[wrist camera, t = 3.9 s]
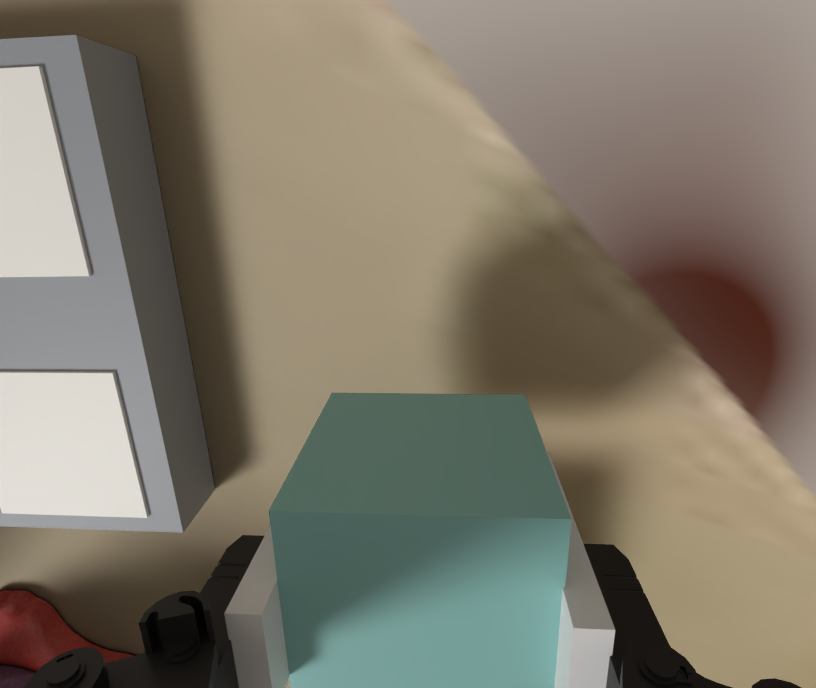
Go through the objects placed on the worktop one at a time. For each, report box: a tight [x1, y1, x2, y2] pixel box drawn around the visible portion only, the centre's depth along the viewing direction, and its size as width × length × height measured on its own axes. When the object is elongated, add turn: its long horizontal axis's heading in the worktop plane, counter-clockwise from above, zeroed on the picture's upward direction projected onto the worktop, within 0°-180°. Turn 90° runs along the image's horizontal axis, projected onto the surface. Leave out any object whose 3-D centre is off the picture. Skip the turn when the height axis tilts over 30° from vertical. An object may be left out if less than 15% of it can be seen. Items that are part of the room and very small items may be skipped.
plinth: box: [0, 35, 215, 533], centre depth 20 cm, size 18×9×3 cm, turn 2°
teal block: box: [269, 393, 572, 688], centre depth 14 cm, size 6×6×6 cm
